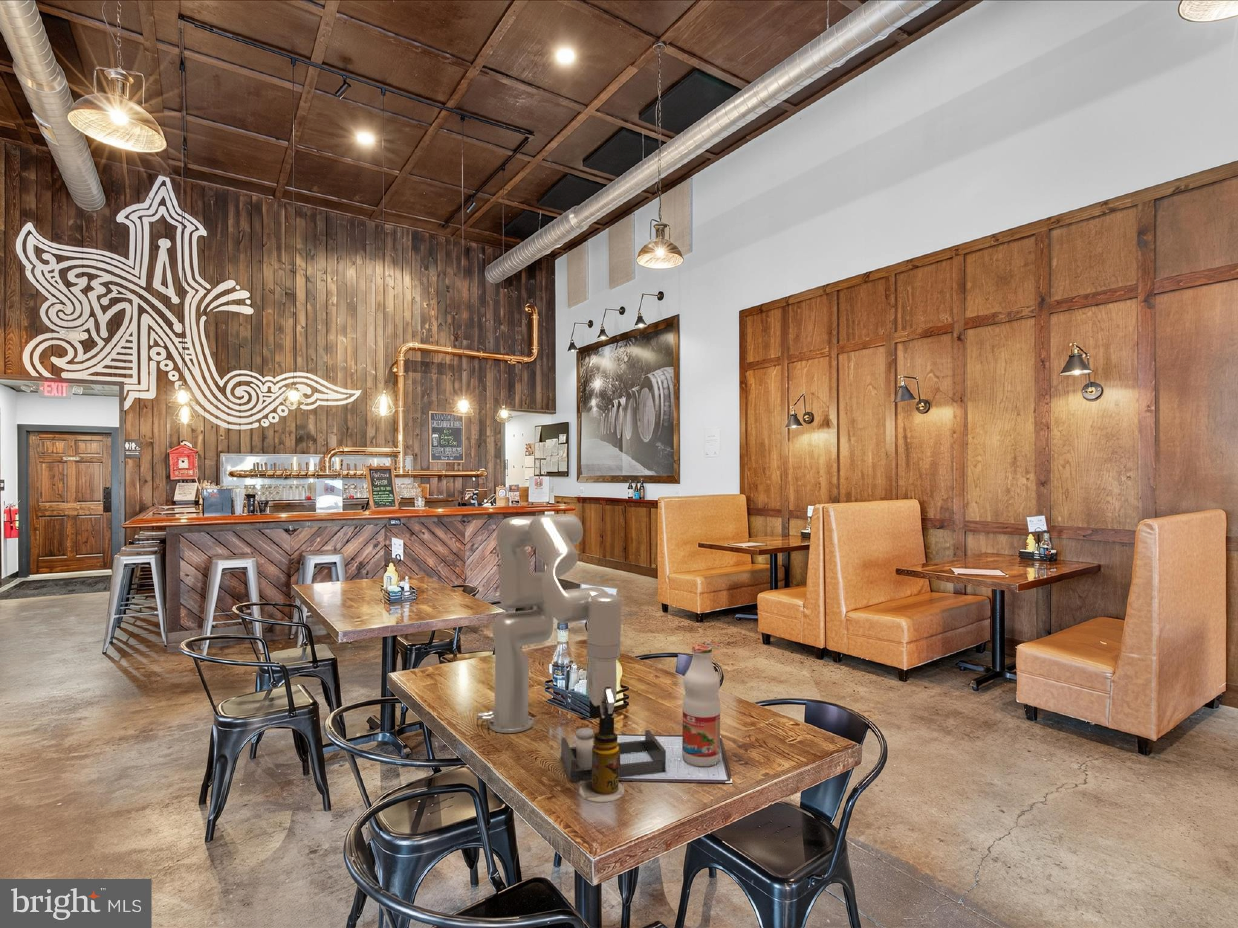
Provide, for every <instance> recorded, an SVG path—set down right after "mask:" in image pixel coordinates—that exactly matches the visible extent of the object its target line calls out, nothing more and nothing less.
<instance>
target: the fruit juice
mask: <svg viewBox="0 0 1238 928" xmlns="http://www.w3.org/2000/svg"><path fill="white" fill-rule="evenodd" d="M691 651H692V654H693V655H692V658H691V659H692V660H691V663H690V665H689V667H688V669H687V671H686V672H685V674H684V677H683V688H684V696H683V699H682V731H681V732H682V733H681V734H682V735H681V736H682V737H681V739H682V740H681V742H682V743H681V744H682V745H681V746H682V751H681V752H682V754H681V755H682V759H683V760H684V761H685V762H686V763H687V764H689V765H692V766H694V767H702V766H706V767H712V766H715V765H716V764H715V763H717V762H718V761H719V762H720V759H721V701H720V697H719V691H720V688H721V682H720V681H721V679H720V677H719V675H718V673H717V672H716V671H715V668H714V665H713V661H712V658H711V655H712V652H713V650H712V646H711V645H708V644H693V646H692V649H691ZM719 762H718V763H719ZM718 763H717V764H718ZM714 764H715V765H714ZM711 765H712V766H711Z"/></svg>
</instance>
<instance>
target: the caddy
mask: <svg viewBox="0 0 1238 928" xmlns="http://www.w3.org/2000/svg"><path fill="white" fill-rule="evenodd" d="M644 733H645V734H644V736H645V737H644V739H643V740H630V741H623V742H622V741H621V742H618V744H617V745H618V747H619V778H622V777H623V778H625V777H633V776H640V775H641V776H642V775H650V774H658V773H660V774H661V773H666V771H667V770H666V768H667V767H666V761H667V759H666V758H667V755H666V751H667V750H666V749H665V748H664V747H663V746H662V744H661V743H660V742H659V740H658V739H657V738H656V737H655V736H654V734H653V732H651V730H650V729H645V731H644ZM560 742H561V743H560V745H561V746H560V749H561V750H560V759H561V762H562V764H563V767H564V769H565V771H566V775H567V777H568V779H569V781H570V783H571V784H572V783H580V781H590V780H592V766H591V767H589V768H576V748H577V746H572V747H571V746H569V743H568V740H567V739H566V737H561V740H560ZM593 746H594V744H593ZM642 751H645V752H646V751H647V752H646V753H647V754H648V755H649V757H650V759H651V760H649V761H648V760H647V761H637V762H629V763H621V755H625V754H624V753H626V754H632V753H631V752H636V753H643V752H642Z"/></svg>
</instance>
